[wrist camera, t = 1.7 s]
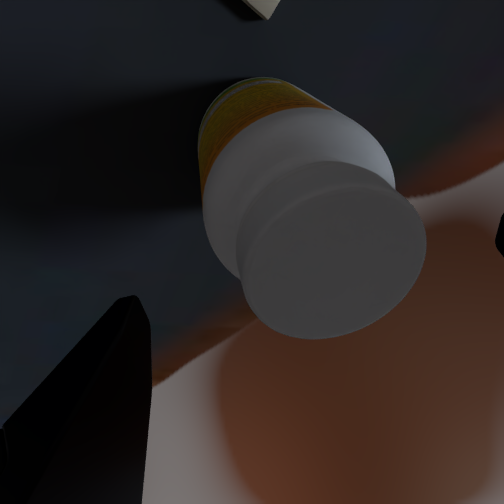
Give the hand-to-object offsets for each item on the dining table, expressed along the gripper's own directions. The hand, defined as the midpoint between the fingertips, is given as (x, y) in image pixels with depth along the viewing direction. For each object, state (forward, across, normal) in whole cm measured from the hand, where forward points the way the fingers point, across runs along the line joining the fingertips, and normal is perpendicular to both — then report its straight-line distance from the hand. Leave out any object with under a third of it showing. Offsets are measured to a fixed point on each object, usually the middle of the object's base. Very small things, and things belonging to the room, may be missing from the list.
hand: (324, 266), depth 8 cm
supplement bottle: (+9, 0, 0) cm, 9 cm away
